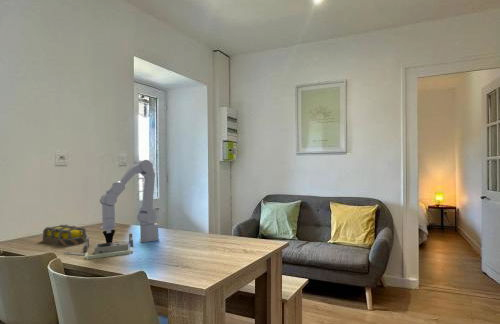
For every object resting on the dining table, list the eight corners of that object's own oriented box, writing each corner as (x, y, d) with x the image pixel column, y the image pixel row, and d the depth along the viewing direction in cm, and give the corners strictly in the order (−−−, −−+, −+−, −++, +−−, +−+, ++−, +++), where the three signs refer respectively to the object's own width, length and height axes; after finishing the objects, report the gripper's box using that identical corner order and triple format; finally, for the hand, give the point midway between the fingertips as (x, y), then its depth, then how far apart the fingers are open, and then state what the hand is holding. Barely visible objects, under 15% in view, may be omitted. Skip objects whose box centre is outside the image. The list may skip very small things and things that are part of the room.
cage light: (64, 223, 194) (91, 227, 177) (64, 236, 194) (92, 241, 177) (37, 227, 181) (64, 232, 165) (37, 241, 181) (65, 247, 165)
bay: (131, 249, 156) (131, 246, 156) (132, 253, 148) (132, 250, 148) (85, 254, 148) (85, 251, 148) (84, 259, 140) (84, 256, 140)
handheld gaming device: (128, 251, 153) (128, 243, 153) (94, 256, 146) (94, 247, 147) (127, 248, 161) (126, 240, 161) (94, 252, 155) (94, 244, 155)
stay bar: (66, 253, 153) (66, 251, 153) (85, 255, 148) (85, 253, 148) (63, 254, 151) (63, 252, 151) (82, 256, 147) (82, 254, 147)
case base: (132, 241, 174) (132, 232, 174) (133, 246, 162) (133, 237, 162) (85, 246, 165) (85, 237, 165) (83, 252, 153) (83, 242, 153)
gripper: (100, 216, 164) (100, 243, 163) (99, 220, 150) (99, 249, 150) (115, 215, 167) (115, 241, 166) (115, 219, 153) (116, 247, 153)
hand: (109, 245), depth 158 cm, fingers closed
